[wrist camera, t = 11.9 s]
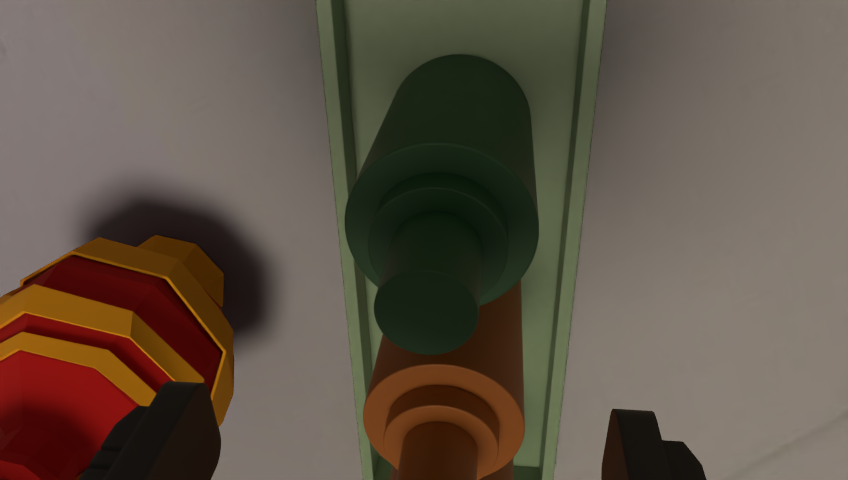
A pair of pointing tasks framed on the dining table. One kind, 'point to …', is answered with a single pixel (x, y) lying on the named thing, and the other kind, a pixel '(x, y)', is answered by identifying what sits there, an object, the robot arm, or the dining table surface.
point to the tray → (553, 158)
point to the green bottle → (445, 202)
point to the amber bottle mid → (452, 400)
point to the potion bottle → (105, 348)
